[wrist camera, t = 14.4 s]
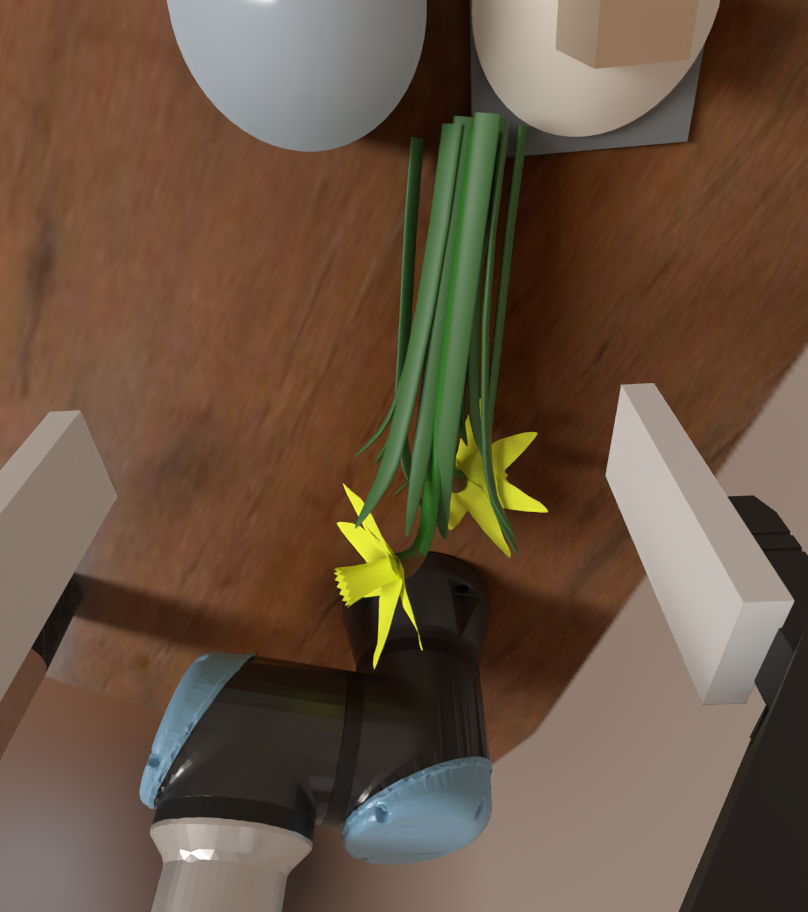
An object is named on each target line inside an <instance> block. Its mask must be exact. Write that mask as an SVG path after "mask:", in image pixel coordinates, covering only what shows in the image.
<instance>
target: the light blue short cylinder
mask: <svg viewBox="0 0 808 912" xmlns="http://www.w3.org/2000/svg"><path fill="white" fill-rule="evenodd" d="M167 3H168V8H169V13H170V18H171V23H172V26H173V30H174V33H175V36H176V39H177V43H178V45H179V48H180V50H181V52H182V55H183V57H184V59H185V62H186V64H187V65H188V67H189V69H190V71H191V73H192V75H193V76H194V78H195V80H196V81H197V83H198V84H199V86H200V87H201V89H202V90H203V91H204V93H205V94H206V96H207V97H208V98H209V99H210V100H211V101H212V103H213V104H214V105H215V106H216V107H217V108H218V109H219V110H220V111H221V112H222V113H223V114H224V115H225V116H226V117H227V118H228V119H229V120H230V121H232V122H233V123H234V124H236V125H237V126H238V127H240V128H241V129H242V130H244V131H245V132H247V133H249V134H250V135H252V136H254V137H256V138H257V139H259V140H262V141H264V142H266V143H269V144H271V145H274V146H277V147H281V148H285V149H289V150H296V151H323V150H329V149H335V148H338V147H341V146H344V145H347V144H350V143H352V142H354V141H356V140H358V139H360V138H362V137H363V136H365V135H366V134H368V133H369V132H371V131H372V130H374V129H375V128H376V127H377V126H378V125H379V124H380V123H382V122H383V121H384V120H385V119H386V118H387V117H388V116H389V114H390V113H391V112H392V111H393V110H394V108H395V107H396V106H397V105H398V103H399V102H400V100H401V98H402V97H403V95H404V94H405V92H406V91H407V88H408V86H409V84H410V82H411V80H412V78H413V76H414V74H415V71H416V68H417V65H418V62H419V59H420V56H421V51H422V47H423V42H424V37H425V28H426V19H427V0H167Z"/></svg>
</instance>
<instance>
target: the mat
mask: <svg viewBox="0 0 808 912" xmlns="http://www.w3.org/2000/svg"><path fill="white" fill-rule="evenodd" d="M469 8H470V72H471V117H473V118H474V116H475V112H478V113H492V114H500V115H501V120H502V119H507V120H509V121H510V122H509V128H508V142H507V151H506V157H514V153H515V146H516V138H517V131H518V125H524V126H527V127H529V128H528V135H527V142H526V150H525V156H528V155H539V154H551V153H562V152H573V151H585V150H596V149H607V148H619V147H630V146H641V145H653V144H664V143H675V142H687V141H688V135H689V129H690V124H691V118H692V112H693V107H694V101H695V95H696V89H697V84H698V78H699V72H700V67H701V61H702V55H703V50H704V45H703V47H702V49H701V51H700V52H699V54H698V56H697V58H696V59H695V61H694V63H693V64H692V65H691V67H690V68H689V70H688V71H687V72H686V74H685V75H684V77H683V78H682V79H681V80H680V82H679V83H678V84H677V85H676V86H675V87H674V88H673V90H672V91H671V92H670V93H669V94H668V95H667V96H666V97H664V98H663V99H662V100H661V101H660V102H659V103H658V104H657V105H656V106H654V107H653V108H652V109H650V110H649V111H648V112H646V113H645V114H644V115H642V116H640V117H639V118H637V119H635V120H634V121H632V122H630V123H628V124H626V125H624V126H622V127H619V128H617V129H615V130H612V131H608V132H605V133H602V134H597V135H591V136H584V137H568V136H561V135H555V134H551V133H548V132H544V131H542V130H539V129H537V128H535V127H533V126H531V125H529V124H527V123H526V122H524V121H523V120H521V119H520V118H518V117H517V116H516V115H515V114H514V113H513V112H512V111H511V110H509V109H508V108H507V107H506V106H505V104H504V103H503V102H502V101H501V99H500V98H499V97H498V96H497V95H496V93H495V92H494V90H493V88H492V87H491V85H490V84H489V82H488V80H487V79H486V76H485V74H484V72H483V70H482V67H481V65H480V62H479V59H478V56H477V53H476V49H475V45H474V39H473V34H472V26H471V0H469ZM704 44H705V43H704ZM500 126H501V122H500ZM499 132H500V129H499ZM498 138H499V136H498ZM497 144H498V143H497Z"/></svg>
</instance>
